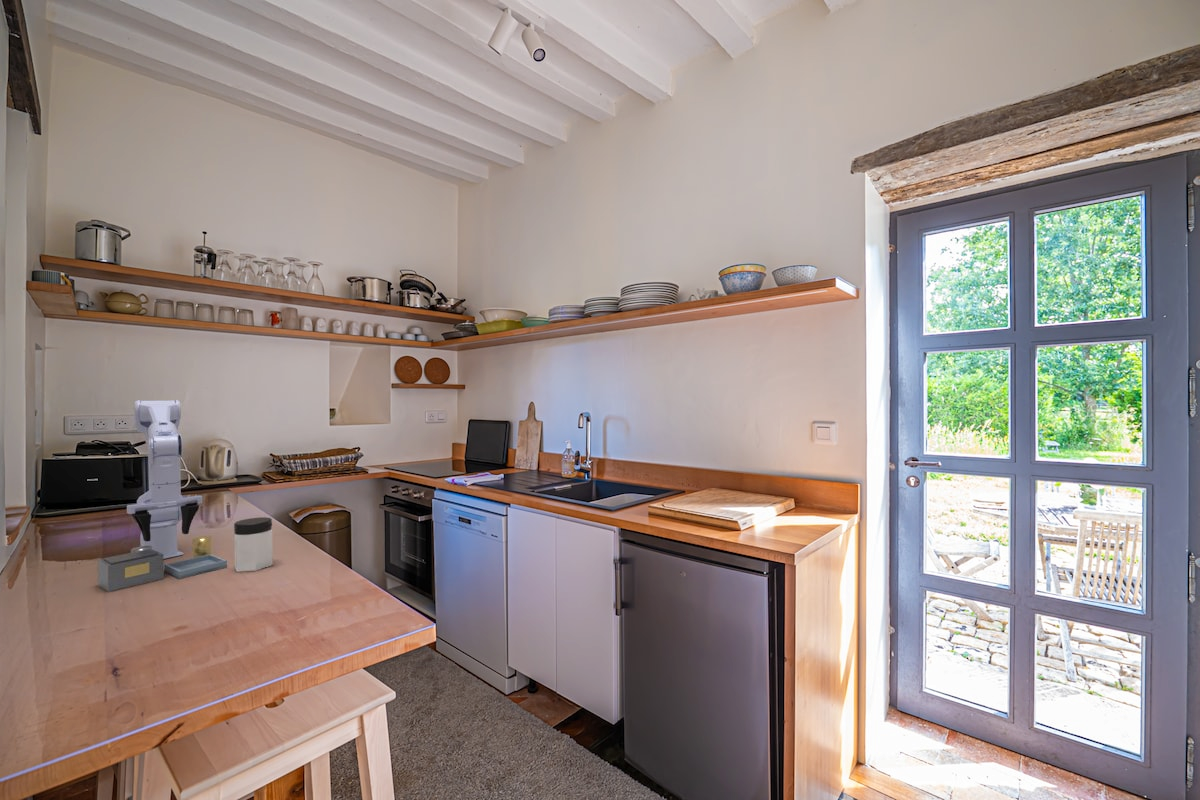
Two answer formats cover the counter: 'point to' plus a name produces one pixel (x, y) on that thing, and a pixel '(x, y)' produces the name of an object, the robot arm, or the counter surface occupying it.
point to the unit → (130, 569)
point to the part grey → (140, 548)
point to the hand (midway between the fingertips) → (166, 537)
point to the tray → (195, 566)
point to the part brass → (201, 546)
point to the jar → (253, 544)
